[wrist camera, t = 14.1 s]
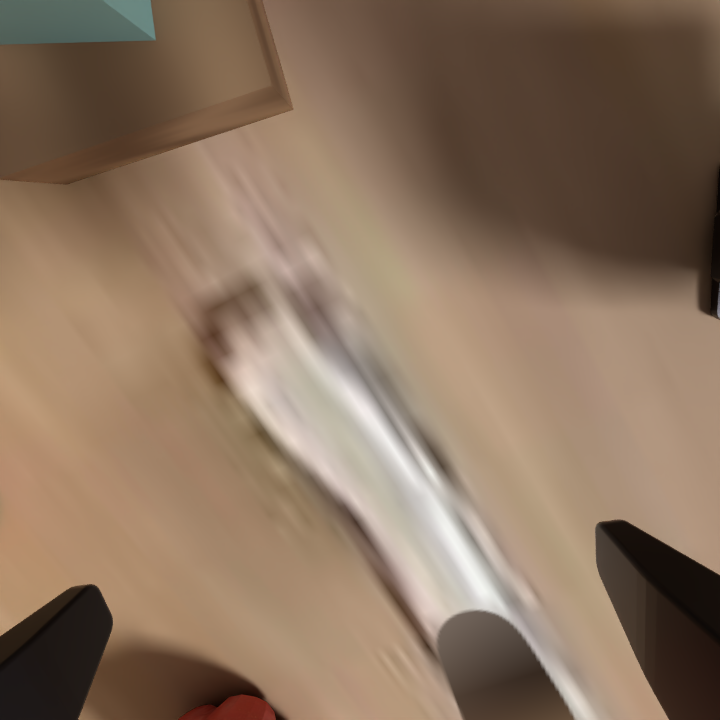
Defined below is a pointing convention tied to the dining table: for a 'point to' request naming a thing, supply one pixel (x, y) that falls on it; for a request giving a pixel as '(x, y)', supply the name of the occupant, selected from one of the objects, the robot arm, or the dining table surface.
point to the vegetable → (233, 710)
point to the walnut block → (137, 91)
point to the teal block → (75, 21)
